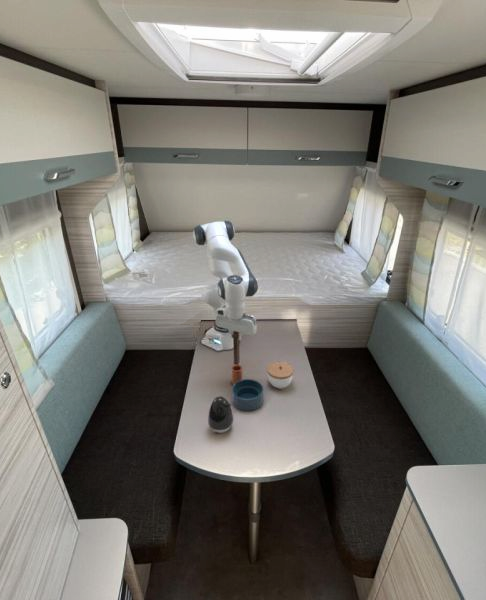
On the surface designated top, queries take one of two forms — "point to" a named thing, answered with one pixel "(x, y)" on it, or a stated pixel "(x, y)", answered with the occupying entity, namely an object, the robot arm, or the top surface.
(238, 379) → the pot
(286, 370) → the lidded bowl
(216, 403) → the black rounded egg shape
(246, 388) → the mixing bowl
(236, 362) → the stirring stick
